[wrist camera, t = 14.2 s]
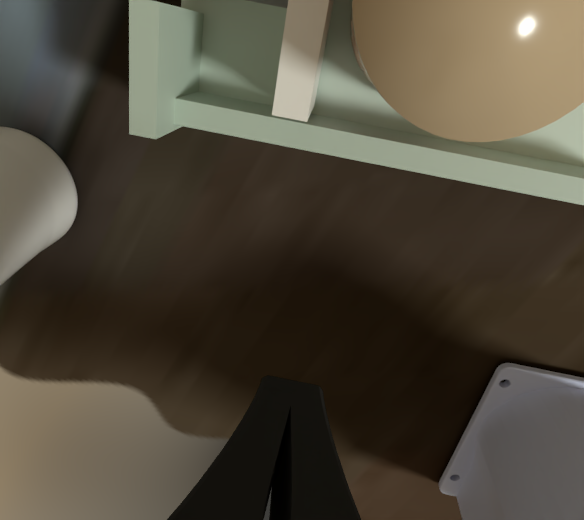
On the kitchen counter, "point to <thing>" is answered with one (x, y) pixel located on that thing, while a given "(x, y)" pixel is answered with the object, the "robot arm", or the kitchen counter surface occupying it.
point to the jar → (473, 62)
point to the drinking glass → (31, 199)
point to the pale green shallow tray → (316, 100)
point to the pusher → (300, 55)
